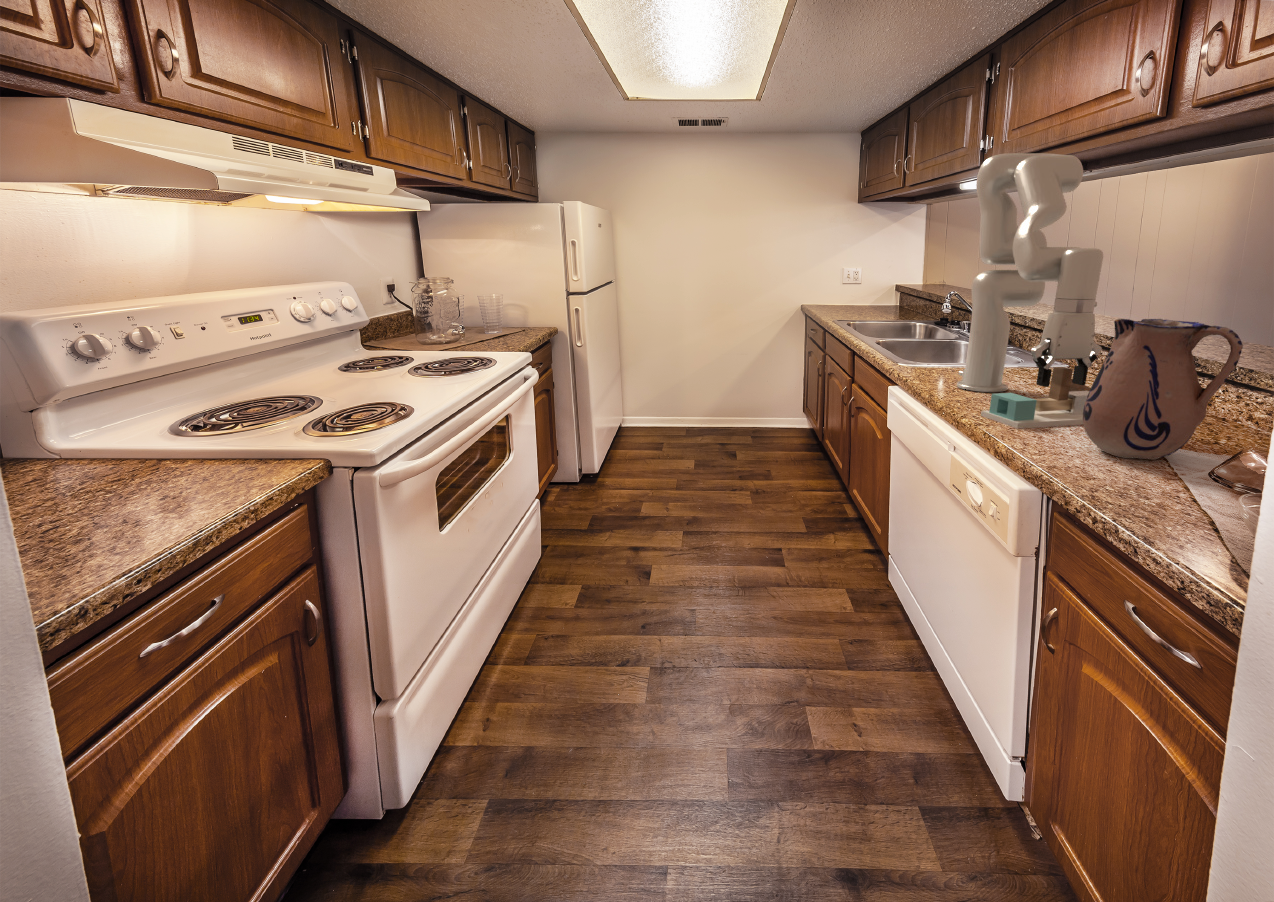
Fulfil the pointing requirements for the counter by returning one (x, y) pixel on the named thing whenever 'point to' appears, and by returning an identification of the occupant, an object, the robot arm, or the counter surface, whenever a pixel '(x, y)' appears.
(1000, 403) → the socket block
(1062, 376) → the tan wooden l-shaped piece
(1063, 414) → the base board
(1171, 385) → the ceramic pitcher
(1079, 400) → the sleeve
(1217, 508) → the counter surface
